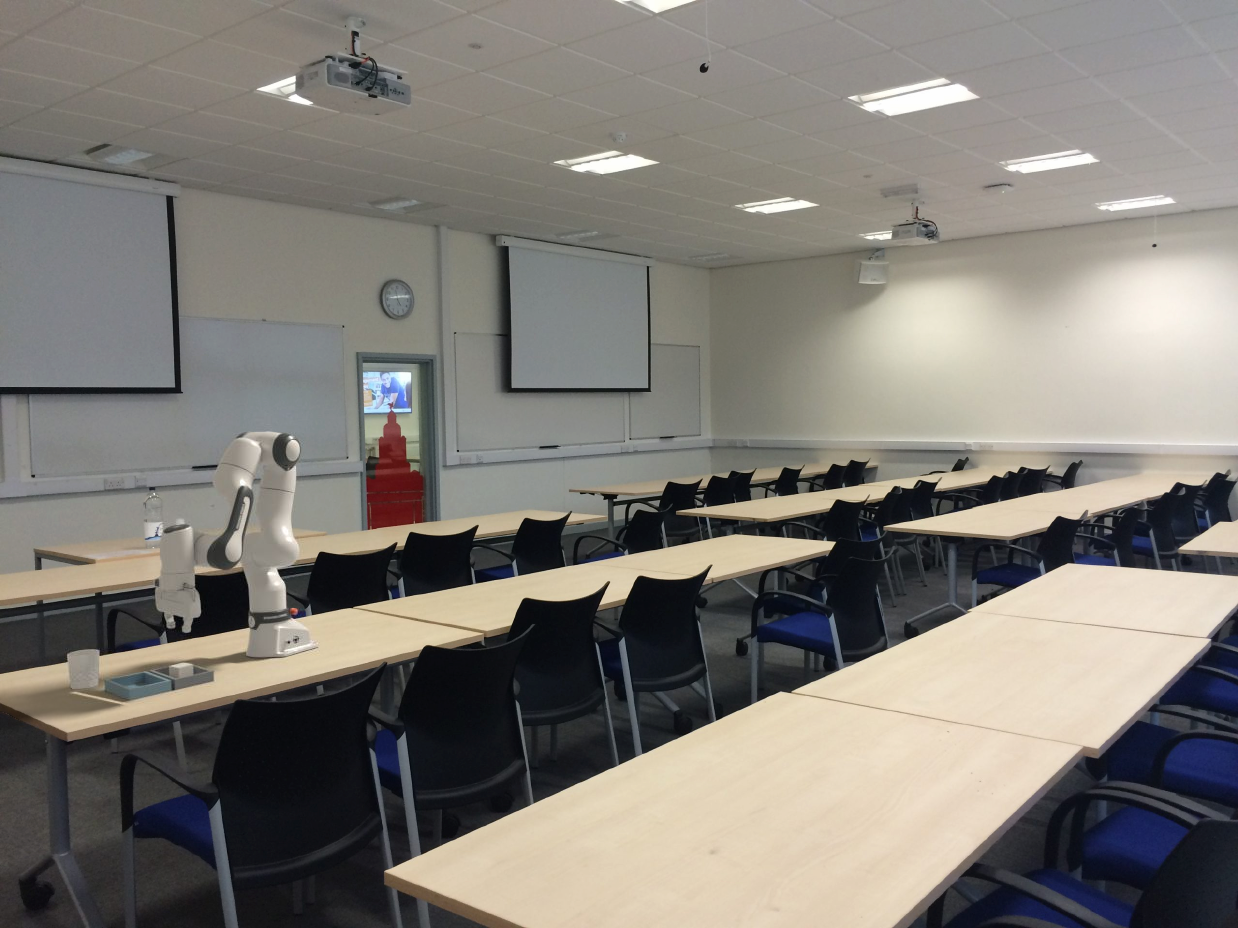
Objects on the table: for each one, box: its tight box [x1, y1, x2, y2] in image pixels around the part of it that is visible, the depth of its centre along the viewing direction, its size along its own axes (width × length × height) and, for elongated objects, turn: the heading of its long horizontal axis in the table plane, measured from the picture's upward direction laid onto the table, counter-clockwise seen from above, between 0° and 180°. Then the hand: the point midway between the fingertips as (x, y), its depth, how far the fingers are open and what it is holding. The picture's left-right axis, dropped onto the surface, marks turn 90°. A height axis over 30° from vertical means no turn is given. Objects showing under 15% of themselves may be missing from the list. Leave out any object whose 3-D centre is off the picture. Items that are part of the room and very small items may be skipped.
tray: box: [148, 662, 215, 691], centre depth 262 cm, size 11×16×4 cm
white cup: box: [66, 648, 100, 690], centre depth 259 cm, size 8×8×10 cm
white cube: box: [168, 662, 194, 679], centre depth 262 cm, size 4×4×4 cm
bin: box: [104, 670, 173, 702], centre depth 253 cm, size 11×16×4 cm
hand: (178, 629), depth 261 cm, fingers open, 8 cm apart
